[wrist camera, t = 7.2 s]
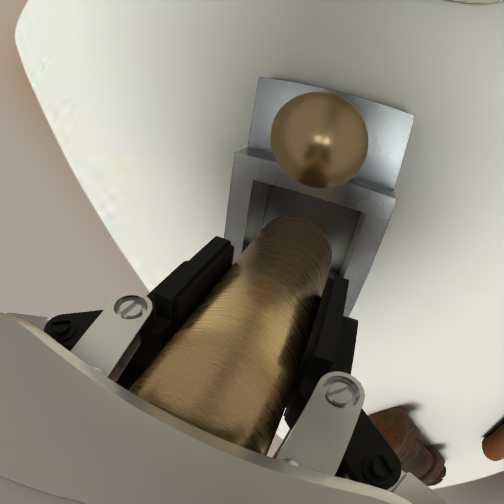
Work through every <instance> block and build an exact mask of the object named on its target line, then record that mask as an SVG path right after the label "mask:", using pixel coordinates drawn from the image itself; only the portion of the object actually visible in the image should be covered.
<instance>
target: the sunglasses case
mask: <svg viewBox="0 0 504 504" xmlns="http://www.w3.org/2000/svg"><path fill="white" fill-rule="evenodd" d="M482 449H483V452H484V454H485V456H486V457H487V458H489V459H490V460H493V461H498V460H501V459H504V423H503V424H502V425H501V426H500V427H499V428H498V429H496V430H495V431H494V432H493V433H492V434H491V435H490V436H488V437H484V439H483V441H482Z"/></svg>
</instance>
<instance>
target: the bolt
mask: <svg viewBox="0 0 504 504" xmlns="http://www.w3.org/2000/svg"><path fill="white" fill-rule="evenodd" d="M369 419H370V420H371V421H372V423H373V424H374V425H375V427H376V428H377V429H378V431H379V432H380V433H381V435H382V436H383V437H384V439H385V440H386V441H387V443H388V444H389V445H390V447H391V448H392V449H393V451H394V452H395V453H396V455H397V456H398V458H399V460H400V462H401V467H402V471H404V472H405V473H408V472H410V473H411V474H413V475H414V476H415V477H416V478H418V479H419V480H420V481H421V482H423V483H424V484H425V485H427V486H431V485H436V484H439V483H440V482H441V481H442V480H443V479H441V478H443V477H444V476H445V475H446V468H445V466H444V464H445V460H444V459H443V457H442V456H441V455H440V453H439V452H438V451H437V450H436V448H435V447H434V446H426V447H424V446H423V445H422V444H421V443H420V442H419V441H417V440H416V439H415V438H416V436H417V435H418V433H419V431H420V430H419V429H418V428H417V426H416V425H415V424H414V422H413V421H412V420H411V418H410V417H409V416H408V414H407V413H406V412H405V411H404V410H403V409H402V408H401V407H394V408H389V409H385V410H382V411H379V412H376V413H374V414H373V415H371V416H370V417H369Z"/></svg>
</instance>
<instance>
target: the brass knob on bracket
mask: <svg viewBox="0 0 504 504" xmlns="http://www.w3.org/2000/svg"><path fill="white" fill-rule="evenodd" d="M413 119H414V115H412V114H409V113H406V112H403V111H400V110H398V109H395V108H392V107H389V106H386V105H383V104H379V103H376V102H373V101H370V100H366V99H363V98H359V97H356V96H352V95H348V94H345V93H341V92H337V91H333V90H328V89H324V88H320V87H315V86H310V85H306V84H301V83H295V82H290V81H284V80H278V79H272V78H265V77H259V79H258V85H257V91H256V97H255V104H254V110H253V116H252V123H251V129H250V136H249V142H248V148H245V149H243V150H240V151H238V152H236V153H235V155H234V162H233V170H232V177H231V185H230V193H229V201H228V209H227V217H226V226H225V234H224V239H227V240H230V241H231V245H233V246H234V256H233V263H232V265H233V264H234V262H235V261H236V260H237V259H238V258H239V256H240V255H241V254H242V253H243V252H244V251H245V249H246V248H247V247H248V246H249V245H250V243H251V242H252V241H253V240H254V239H255V237H256V236H257V235H258V234H259V233H260V231H261V230H262V224H263V219H264V214H265V208H266V203H267V197H268V192H269V187H270V184H271V185H274V186H278V187H282V188H285V189H289V190H292V191H296V192H299V193H303V194H306V195H309V196H313V197H316V198H319V199H323V200H326V201H329V202H332V203H335V204H339V205H342V206H345V207H348V208H351V209H354V210H357V211H360V212H361V214H360V217H359V220H358V223H357V226H356V229H355V232H354V235H353V238H352V241H351V243H350V246H349V249H348V252H347V255H346V257H345V260H344V263H343V266H342V268H341V271H340V274H339V273H336V272H333V271H330V270H329V273H328V277H330V278H333V279H334V276H335V275H336V276H339V277H342V278H345V279H348V280H349V285H348V291H347V298H346V303H345V309H344V315H343V316H346V317H349V315H350V313H351V311H352V308H353V306H354V304H355V302H356V300H357V298H358V295H359V293H360V291H361V289H362V287H363V284H364V282H365V280H366V277H367V275H368V273H369V270H370V268H371V266H372V263H373V261H374V258H375V256H376V253H377V251H378V248H379V246H380V243H381V241H382V238H383V235H384V233H385V230H386V228H387V225H388V222H389V219H390V217H391V214H392V211H393V208H394V205H395V202H396V196H395V192H394V186H395V183H396V180H397V177H398V174H399V170H400V167H401V164H402V160H403V157H404V153H405V150H406V146H407V142H408V139H409V135H410V131H411V127H412V123H413ZM328 277H327V279H328ZM326 282H327V280H326ZM325 285H326V284H325Z"/></svg>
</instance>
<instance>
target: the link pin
mask: <svg viewBox="0 0 504 504" xmlns="http://www.w3.org/2000/svg"><path fill="white" fill-rule="evenodd" d="M331 262H332V250H331V246H330V243H329V241H328V239H327V237H326V235H325V234H324V233H323V232H322V230H321V229H320V228H318V227H317V226H316V225H315V224H313V223H312V222H310V221H308V220H305V219H303V218H299V217H281V218H278V219H275V220H273V221H271V222H270V223H268V224H267V225H266V226H265V227H264V228H263V229H262V230H261V231H260V233H259V234H258V235H257V236H256V237H255V239H254V240H253V241H252V242H251V243H250V245H249V246H248V247H247V248H246V249H245V251H244V252H243V253H242V254H241V255H240V256H239V258H238V259H237V260H236V261H235V262H234V264H233V265H232V266H231V267H230V268H229V270H228V271H227V272H226V273H225V274H224V276H223V277H222V278H221V279H220V280H219V282H218V283H217V284H216V285H215V286H214V288H213V289H212V290H211V291H210V292H209V294H208V295H207V296H206V297H205V298H204V300H203V301H202V302H201V303H200V304H199V306H198V307H197V308H196V309H195V310H194V312H193V313H192V314H191V315H190V316H189V318H188V319H187V320H186V321H185V322H184V324H183V325H182V326H181V327H180V328H179V330H178V331H177V332H176V333H175V334H174V336H173V337H172V338H171V339H170V340H169V342H168V343H167V344H166V345H165V346H164V348H163V349H162V350H161V351H160V353H159V354H158V355H157V356H156V357H155V359H154V360H153V361H152V362H151V363H150V365H149V366H148V367H147V368H146V369H145V371H144V372H143V373H142V374H141V376H140V377H139V378H138V379H137V380H136V382H135V383H134V384H133V385H132V386H131V388H130V389H129V390H128V391H130V392H131V393H133V394H135V395H136V396H138V397H140V398H141V399H143V400H145V401H147V402H148V403H150V404H152V405H154V406H156V407H157V408H159V409H161V410H163V411H165V412H167V413H169V414H171V415H172V416H174V417H176V418H178V419H180V420H182V421H184V422H186V423H188V424H190V425H193V426H195V427H197V428H199V429H201V430H203V431H205V432H208V433H210V434H212V435H214V436H217V437H219V438H221V439H224V440H226V441H228V442H231V443H233V444H236V445H238V446H241V447H243V448H246V449H249V450H251V451H254V452H257V453H260V454H262V455H265V456H266V455H267V453H268V450H269V448H270V445H271V443H272V440H273V438H274V436H275V433H276V431H277V428H278V426H279V423H280V420H281V418H282V415H283V413H284V410H285V407H286V405H287V402H288V399H289V396H290V394H291V391H292V388H293V385H294V383H295V376H296V373H297V370H298V367H299V364H300V362H301V359H302V356H303V353H304V350H305V347H306V344H307V341H308V337H309V334H310V331H311V328H312V325H313V322H314V318H315V315H316V312H317V309H318V305H319V302H320V298H321V296H322V293H323V290H324V287H325V284H326V280H327V277H328V273H329V269H330V266H331Z"/></svg>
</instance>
